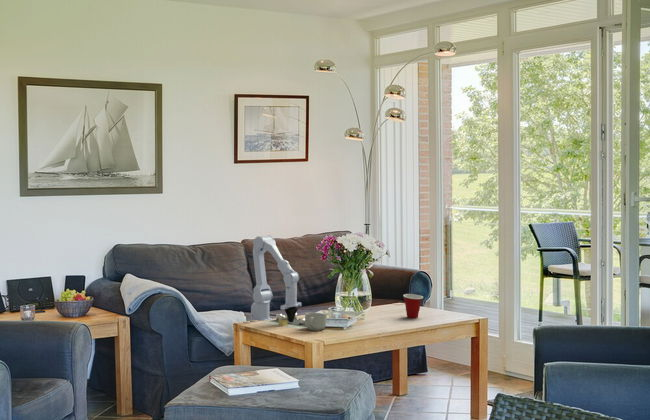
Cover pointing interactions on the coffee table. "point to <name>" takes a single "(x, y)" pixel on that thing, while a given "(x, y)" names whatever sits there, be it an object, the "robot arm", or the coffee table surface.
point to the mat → (289, 324)
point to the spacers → (279, 316)
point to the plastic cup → (412, 305)
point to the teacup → (315, 321)
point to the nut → (283, 322)
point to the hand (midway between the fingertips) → (290, 321)
